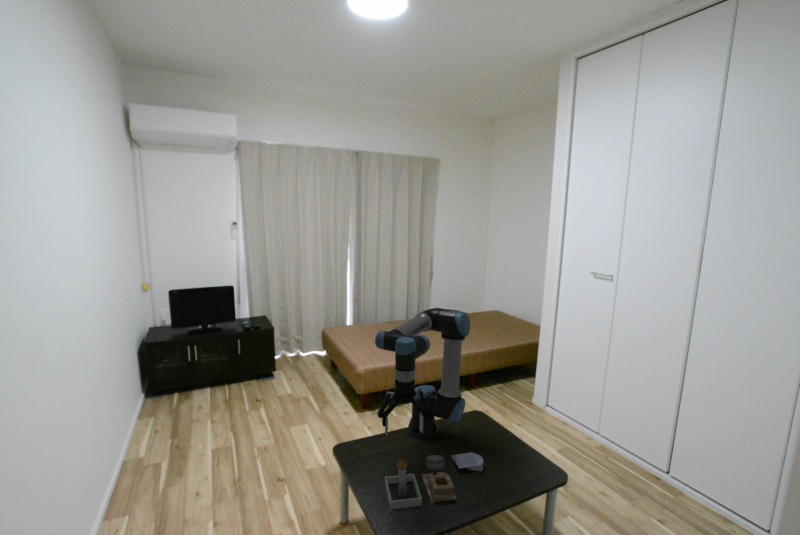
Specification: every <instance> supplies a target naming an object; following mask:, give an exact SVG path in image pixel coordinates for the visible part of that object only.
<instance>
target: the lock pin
mask: <svg viewBox="0 0 800 535" xmlns="http://www.w3.org/2000/svg"><path fill="white" fill-rule="evenodd" d="M396 468H397V470H398V471H397V472H398V473H397V475H398V483H397V484H398V496H399V497H400V498H405V497H406V496H407V482H406V475H407V468H408V461H407V460H406V459H399V460H397V461H396Z"/></svg>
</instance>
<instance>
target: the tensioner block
mask: <svg viewBox="0 0 800 535" xmlns="http://www.w3.org/2000/svg"><path fill="white" fill-rule="evenodd" d="M425 467H426V468H427V469H428V470H431V471H432V472H431V473H421V477H422V480H423V482H424V486H425V489H426V491H427V494H428V497H429V499H430V502H431V503H437V502H438V503H439V502H446V501H456V500H457V497H456V495H455V490H456V489H455V488H456V487H455V486H454V485H455V484H454V483H453V481H452V478H451V476H450V475H449V473H445V471H443V470H444V468H445V467H446V459H444V457H443V456H441V455H438V454H430V455H428V456H427V457H426V458H425ZM438 471H439V472H438ZM440 471H442V472H440Z"/></svg>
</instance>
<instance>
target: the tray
mask: <svg viewBox="0 0 800 535" xmlns="http://www.w3.org/2000/svg"><path fill="white" fill-rule="evenodd" d="M406 483H412V484H413V487H414V491H415V493H416V496H417V497H412V498H405V499H404V498H403V499H402V498H401V499H396V500H393V499H392V496H391V490H390V487H389V485H394V484H399V483H398V474H397V475H389V476H384V488H385V489H384V490H385V494H386V499H387V503H388V507H389V512H390V513H393V512H394V510H397V509H406V508H413V507H421V506H423V497H422V494H421V491H420V488H419V485H418V482H417V478H416V476H415V473H408V474H407V473H406Z"/></svg>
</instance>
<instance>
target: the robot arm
mask: <svg viewBox="0 0 800 535" xmlns="http://www.w3.org/2000/svg"><path fill="white" fill-rule="evenodd" d="M470 330H471V321H470V316H469V315H468V313H467V312H465V311H461V310H457V309H449V308H447V309H446V308H441V307H434V308H428V309H425V310H423V311H420V312H418V313H417V314H416V315H415V316H414V317H413V318H411V319H410V320H408V321H406V322H404V323H403V324H401V325H398V326H396V327H395V328H393V329H391V330H390V331H387V330H379V331H378V332H377V333H376V335H375V339H374V344H375V347H376V348H377V349H380V350H383V351H389V352H394V354H395V355H394V356H395V358H394V359H395V363H394V364H395V365H394V366H395V368H394V378H395V379H394V391H393V392H391V391H390V390H387V391H386V393H385V397H384V399H383V401H382V403H381V405H380V407H379V409H378V410H377V417H378V418H379V419H381V421H382V422H381V424H382V426H383V427H384V433H385V436H388V435H389V417H388V416H389V415H390V414H391V413H392V412H393V411H394V409H395V408H396V407H397V406H399V405H403V404H410V403H411V418H410V420H409V423H408V427H407V429H408V430H407V431H408V433H409V435H410V436H412V437H414V438H416V439H420V440H428V439H432V438H434V437H436V436H437V434H438V433H439V432H438V431H439V430H438V428H439V427H438V423H437V421H436V418H440V419H442V420H446V421H449V422H452V423H453V422H454V423H457V422H459V421H460V420H461V418H462V416H463V414H464V411H465V407H466V399H465V398H464V397H462V396H463V395H462V394H463V393H462V391H461V390H460V376H461V358H462V346H463V345H462V344H463V341H465V340H466V337H468V336H469V334H470ZM429 331H433V332H438V333H441V334H440V337H441V339H442V340H443V351H442V352H443V353H442V368H441V370H442V372H441V385H440V388H439V389H438V391H437V390H436V388H435V386H433V385H431V384H430V385H429V384H428V385H427V384H424V385H419V386H418V385H417V387H416V384H415V383H416V380H415V379H416V360H417V359H419V357H421V356H423V355H425V354H426V353H427V352H428V351H429V350H430V348H431V341H430V339H429V338H428V337H427V336H426V335H424V334H421V333H426V332H429ZM393 397H394V398H393ZM392 398H393V399H392ZM391 399H392V401H391V403H390V404H389V402H390V400H391ZM388 404H389V405H388Z"/></svg>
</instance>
